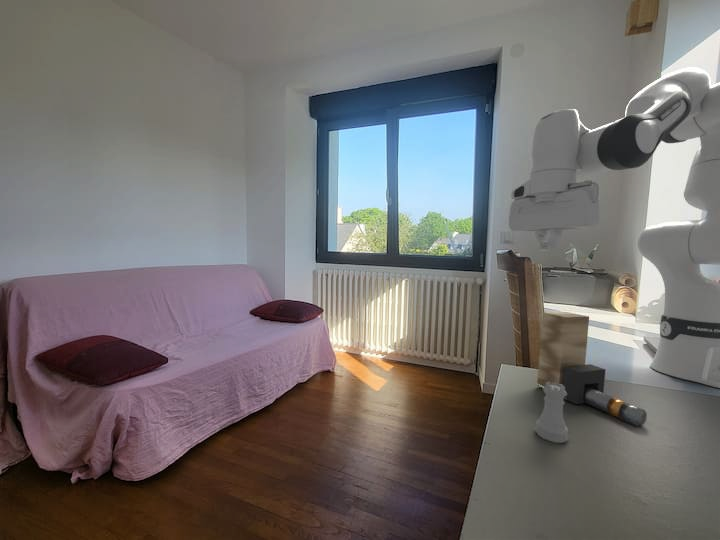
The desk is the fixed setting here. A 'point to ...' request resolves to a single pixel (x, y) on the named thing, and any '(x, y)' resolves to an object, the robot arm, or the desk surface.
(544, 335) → the tall wooden block
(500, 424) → the desk surface
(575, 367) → the black block
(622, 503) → the desk surface
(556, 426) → the rook chess piece
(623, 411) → the grey metal rod
